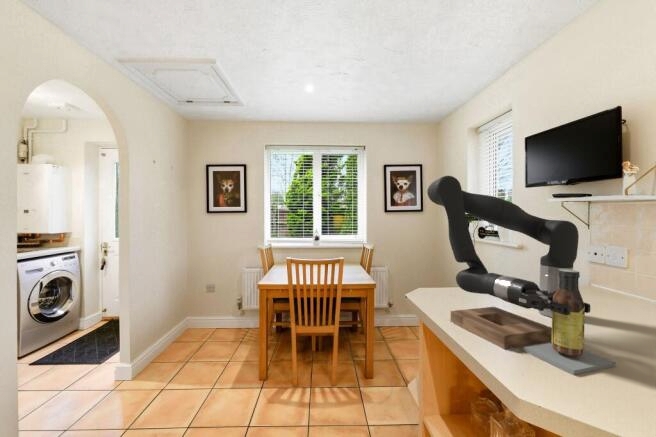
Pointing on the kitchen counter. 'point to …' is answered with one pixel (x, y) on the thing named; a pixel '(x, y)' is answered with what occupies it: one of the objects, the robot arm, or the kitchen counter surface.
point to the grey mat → (569, 359)
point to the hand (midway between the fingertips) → (579, 309)
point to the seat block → (502, 327)
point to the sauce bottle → (568, 326)
